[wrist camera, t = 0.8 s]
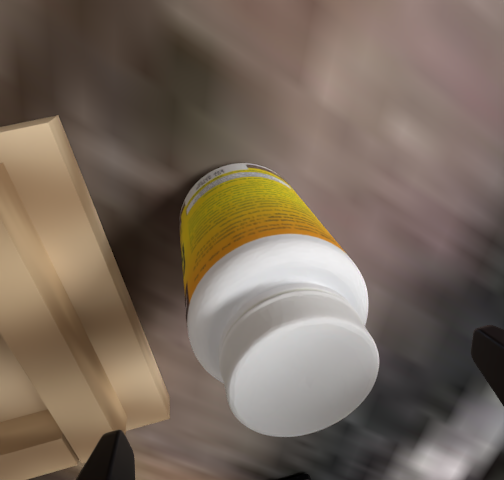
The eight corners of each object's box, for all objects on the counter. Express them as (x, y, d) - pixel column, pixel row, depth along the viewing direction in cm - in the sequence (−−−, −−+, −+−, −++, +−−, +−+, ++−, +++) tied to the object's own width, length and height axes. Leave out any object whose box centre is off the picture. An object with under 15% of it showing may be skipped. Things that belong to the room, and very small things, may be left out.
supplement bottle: (153, 199, 17) (142, 369, 9) (264, 135, 17) (373, 243, 8) (216, 287, 20) (257, 486, 11) (313, 233, 20) (434, 395, 11)
